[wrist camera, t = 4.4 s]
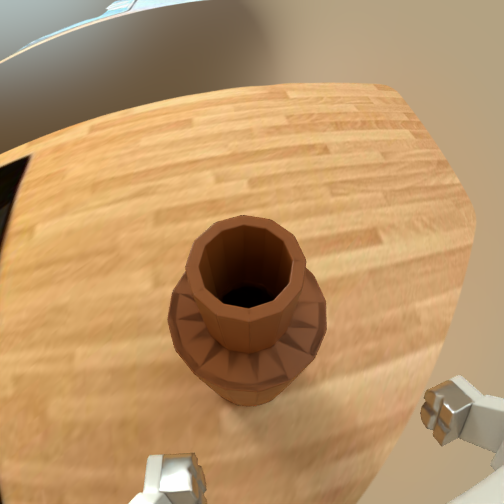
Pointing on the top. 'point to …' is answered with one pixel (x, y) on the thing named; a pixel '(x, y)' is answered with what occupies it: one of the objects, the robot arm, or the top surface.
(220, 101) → the top surface
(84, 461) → the top surface
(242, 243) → the vase
